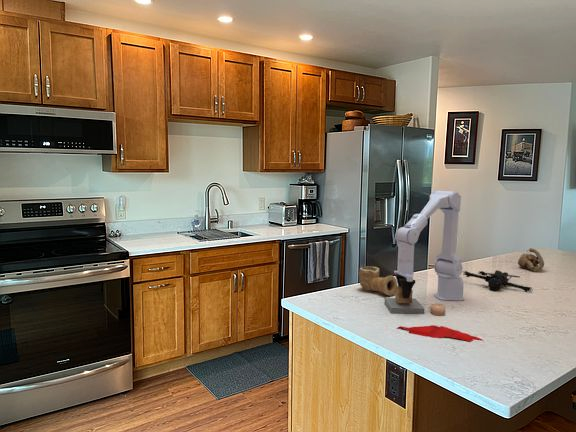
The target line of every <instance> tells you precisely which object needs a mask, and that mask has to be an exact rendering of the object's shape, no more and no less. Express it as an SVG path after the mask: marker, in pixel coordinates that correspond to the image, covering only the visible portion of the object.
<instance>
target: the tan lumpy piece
mask: <svg viewBox="0 0 576 432" xmlns="http://www.w3.org/2000/svg"><path fill="white" fill-rule="evenodd" d="M528 251H529V252H530V253H523V254H521V255H520V257H519V259H518V261H517V264H518V266H519V267H521V268H522V269H525V270H531V271H532V272H534V273H539V271H540V272H542V271H543V268H544V267H545V261H544V258H543V257H542V255H541V254H540V252H539V251H538V250H537V249H534V248H532V247H531V248H529V249H528ZM531 253H534V254H531Z"/></svg>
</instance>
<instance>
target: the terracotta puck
mask: <svg viewBox="0 0 576 432" xmlns="http://www.w3.org/2000/svg"><path fill="white" fill-rule="evenodd" d="M429 309H430V310H429V311H430V312H429V314H431V315H433V316H437V317H438V316H439V317H442V316H445V315H446V305H444V304H441V303H430V307H429Z"/></svg>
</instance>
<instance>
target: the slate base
mask: <svg viewBox="0 0 576 432" xmlns="http://www.w3.org/2000/svg"><path fill="white" fill-rule="evenodd" d="M383 302H384V305H385V306H386V308H387V310H388V311H389V312H390V314H403V315H406V314H408V315H409V314H410V315H411V314H413V315H425V309H426V308H425V307H424V306H423V305H422V304H421V303H420V302H419V300H417V298H412V303H398V302H397V301H396V299H395V297H394V298H393V297H385V298H384V301H383Z"/></svg>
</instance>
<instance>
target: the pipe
mask: <svg viewBox="0 0 576 432" xmlns="http://www.w3.org/2000/svg"><path fill="white" fill-rule="evenodd" d="M358 278H359V285H360V287H361V288H363V289H364V290H365V291H368V292H381V293H383V294H384V295H386V296H388V297H389V296H393V295H396V286H398V283H397V279H396V277H395V275H391V274H390V275H387V276H385V277H380V268H379V267H377V266H364V267H360V268H359V271H358Z"/></svg>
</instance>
